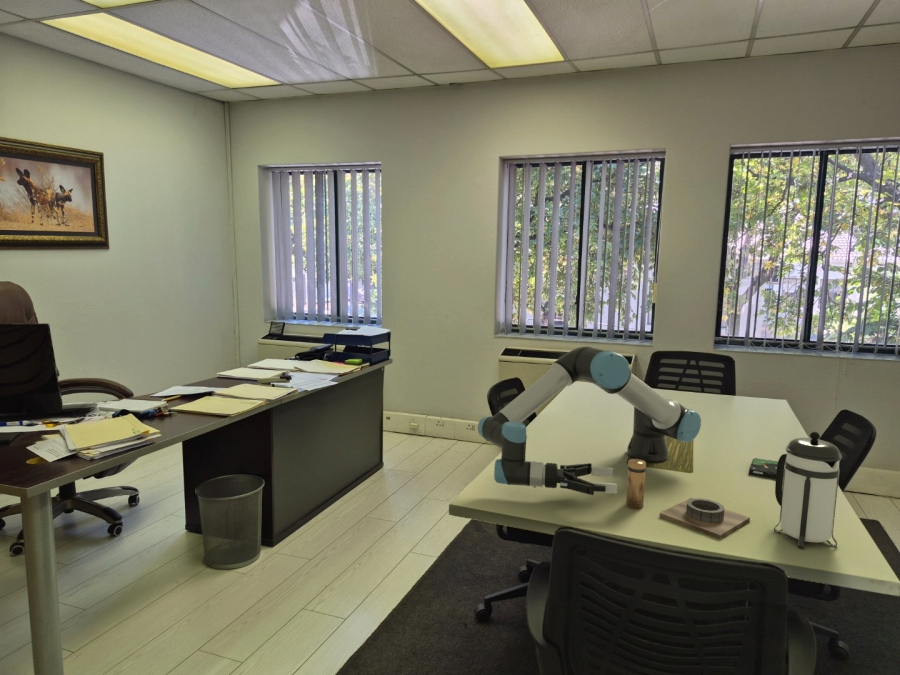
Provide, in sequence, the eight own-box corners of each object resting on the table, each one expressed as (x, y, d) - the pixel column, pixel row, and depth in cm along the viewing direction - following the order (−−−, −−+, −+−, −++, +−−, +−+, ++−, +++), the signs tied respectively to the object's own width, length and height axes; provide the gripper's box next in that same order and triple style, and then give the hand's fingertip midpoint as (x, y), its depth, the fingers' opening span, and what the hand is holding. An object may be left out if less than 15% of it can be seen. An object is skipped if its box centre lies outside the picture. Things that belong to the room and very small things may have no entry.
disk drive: (781, 482, 207) (784, 469, 219) (782, 474, 206) (784, 461, 219) (748, 476, 212) (752, 463, 224) (748, 468, 212) (753, 456, 224)
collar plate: (690, 501, 187) (691, 488, 186) (749, 521, 173) (750, 507, 173) (659, 516, 176) (660, 503, 175) (720, 539, 162) (721, 524, 161)
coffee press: (842, 537, 164) (854, 431, 160) (830, 558, 153) (843, 444, 149) (772, 518, 176) (782, 418, 172) (757, 536, 164) (766, 429, 160)
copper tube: (631, 501, 187) (634, 457, 185) (646, 506, 183) (649, 462, 181) (622, 505, 183) (624, 461, 181) (637, 511, 179) (639, 465, 177)
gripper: (544, 472, 199) (610, 477, 195) (542, 502, 175) (618, 508, 171) (545, 450, 198) (611, 455, 194) (543, 477, 174) (619, 483, 170)
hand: (615, 480), depth 183 cm, fingers open, 13 cm apart
